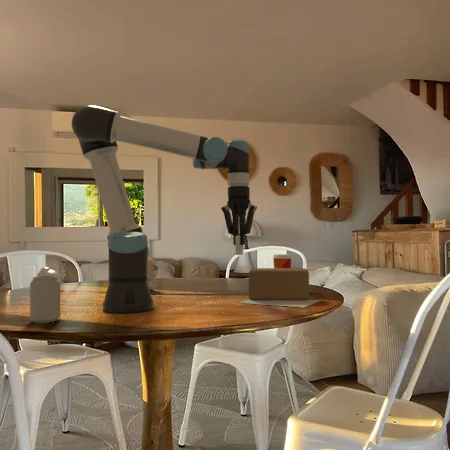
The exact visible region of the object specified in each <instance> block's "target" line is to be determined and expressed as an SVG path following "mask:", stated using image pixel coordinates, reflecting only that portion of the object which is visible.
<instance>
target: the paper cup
mask: <svg viewBox="0 0 450 450" xmlns="http://www.w3.org/2000/svg"><path fill="white" fill-rule="evenodd" d="M272 256H273V257H272V259H273V260H272V261H273V268H291V267H292V259H293V257H292V254H289V253H288V254H287V253H286V254H285V253H283V254H282V253H281V254H278V253H277V254H273V255H272Z"/></svg>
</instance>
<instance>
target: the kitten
mask: <svg viewBox="0 0 450 450" xmlns="http://www.w3.org/2000/svg"><path fill="white" fill-rule="evenodd" d="M159 269H160V268H159V266H158V265H157V262H156V260H155V259H153V258H152V257H150V256H149V257H148V260H147V271H148V276H147V277H148V286H149V289H150V292H154V291H155V289H156V288H155V284H154V282H153V280H154V279H155V278H156V277H157V276H158V273H159Z"/></svg>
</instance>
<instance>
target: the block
mask: <svg viewBox="0 0 450 450" xmlns="http://www.w3.org/2000/svg"><path fill="white" fill-rule="evenodd" d="M309 298H310V272H309V271H308V269H307V268H305V267H304V268H303V267H300V268H299V267H298V268H297V267H296V268H294V267H292V268H274V267H273V268H271V267H270V268H268V267H267V268H266V267H261V268H260V267H257V268H253V267H252V268H250V269H249V271H248V299H249V300H250V299H251V300H310V299H309Z"/></svg>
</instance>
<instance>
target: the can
mask: <svg viewBox="0 0 450 450" xmlns="http://www.w3.org/2000/svg"><path fill="white" fill-rule="evenodd" d="M60 318H61V283H60V281H59V280H58V279H57V276H33V277H32V281H30V283H29V319H30V320H31V321H32V322H33V323H34V324H50V323H49V322H52V323H54V321H56V322H58V320H59V319H60Z"/></svg>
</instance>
